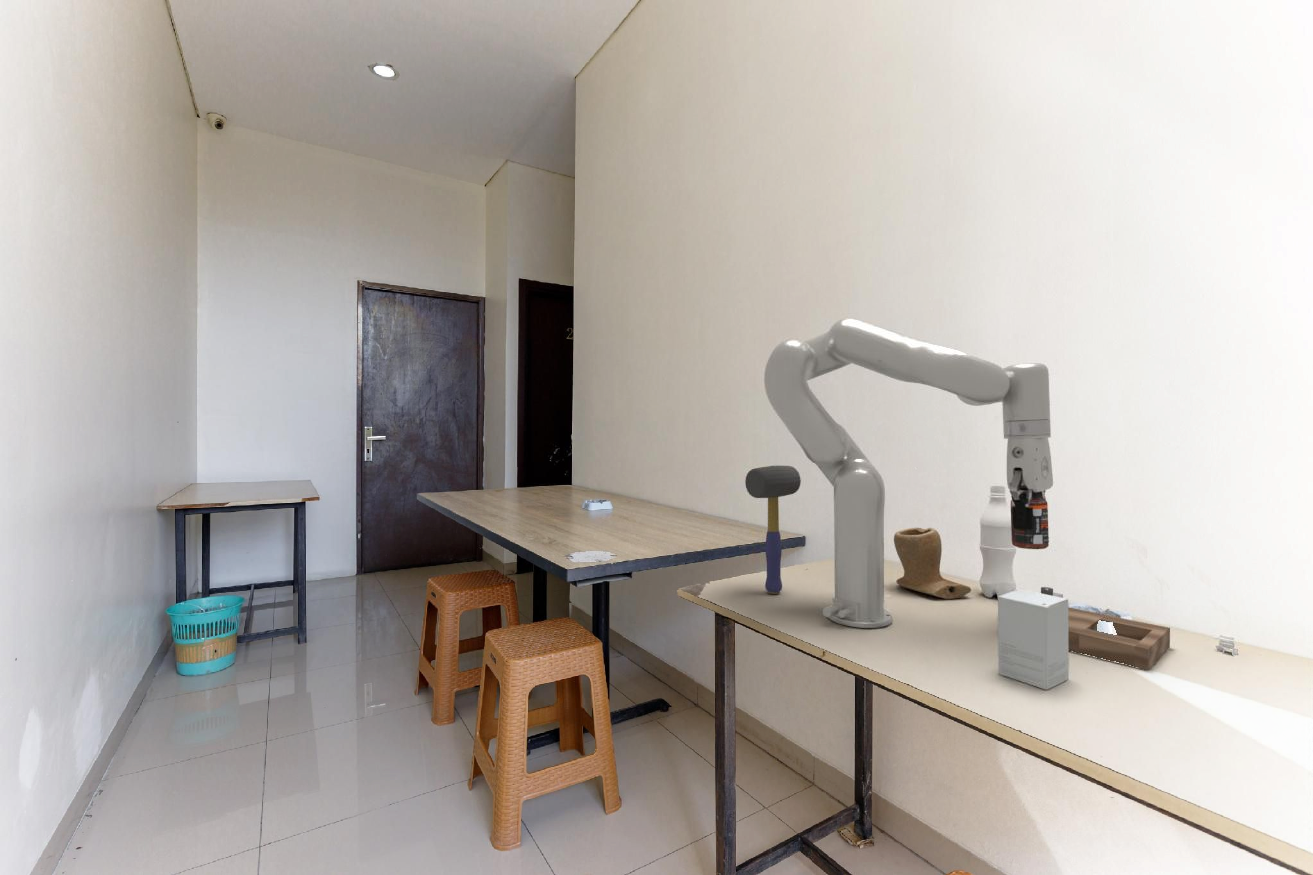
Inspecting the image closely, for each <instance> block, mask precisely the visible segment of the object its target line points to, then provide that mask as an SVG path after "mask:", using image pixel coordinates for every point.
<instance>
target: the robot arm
mask: <svg viewBox="0 0 1313 875" xmlns="http://www.w3.org/2000/svg"><path fill="white" fill-rule="evenodd" d="M850 364H853V365H855V366H857V367H858V366H859V367H861V368H864V369H867V370H869V371H872V372H875V373H877V374H880V375H884V376H886V377H889V378H891V379H894V380H897V381H901V382H906V383H910V384H911V383H913V384H922V385H925V386H930V387H933V388H936V389H939V390H941V391H946V392H947V393H951V394H954V395H956V397H957V398H958V399H959V400H960V401H961V402H963V403H964V404H966V405H969V406H975V407H977V406H980V407H981V406H988V405H993V404H996V403H1002V424H1003V425H1002V428H1003V429H1002V430H1003V439H1005V440H1007V446H1006V483H1007V488H1008V490H1009V493H1010V498H1011V500H1012V507H1013V527H1014V528H1017V529H1028V530H1031V529H1033V528H1034V527H1033V508H1030V506H1031V497H1032V490H1033V492H1041V496H1042V497H1043V499H1045V500H1046V501H1047V499H1046V492H1047V490H1049V489H1051V488H1052V487H1053V485H1054V480H1053V479H1054V478H1053V476H1054V475H1053V467H1052V464H1053V463H1052V454H1051V447H1050V442H1049V439H1050V438H1052V436H1051V433H1052V432H1051V408H1050V406H1051V404H1050V403H1051V401H1050V377H1049V376H1050V374H1049V369H1048V367H1047V366H1046V365H1045V364H1043V363H1039V362H1038V363H1036V362H1035V363H1032V362H1031V363H1020V364H1019V363H1017V364H1012V365H1008V366H1006V367H1003V368H1002V367H1001V366H999V365H998V364H996V363H994V362H991V361H989V360H986V359H984V358H980V357H978V356H974V355H971V354H968V353H965V352H963V351H959V350H956V349H953V348H949V347H945V346H941V345H937V344H934V343H930V342H927V341H923V340H920V339H917V338H915V337H914V338H913V337H911V336H907V335H904V334H902V333H898V332H896V331H893V330H890V329H887V328H884V327H881V326H878V325H875V324H872V323H870V322H867V321H864V320H860V319H856V318H853V317H844V318H840V319H839V320H837V321H836V322H834V323H833V325H832V326H831V327H830V329H829V330H828V331H826V332H824V333H822V334H820V335H817V336H815V337H812V338H810V339H807V340H805V341H802V340H800V339H798V338H797V339H796V338H790V339H785V340H783V341H782V342H780V343H779V344H777V346H775V348H773V350H772V351H771V353H770V355H769V357H768V359H767V362H766V364H765V370H764V373H763V374H764V377H763V380H764V389H765V393H766V396H767V399H768V402H769V403H770V405H771V407H772V409H773V410H774V411H775V413H776V414H777V416H778V417H779V419H780V420H781V421H782V423H783V424H784V425H785V427H786V428H787V430H788V431H789V433H790V434H791V436H792V437H793V439H795V441H796V442H797V444H798V445H799V446H800V448H801V450H802V451H803V452H804V454H805V456H806V458H807V459H808V460H810V461H811V462H812V463H813V464H815V465H816V467H818V469H819V470H820V471H821V473H822V474H823V475H824V476H825V478H826V479H827V481H828V482H829V483H830V484H831V486H832V487H833V518H834V519H833V520H834V522H833V525H834V526H833V527H834V528H833V532H834V533H833V538H834V540H833V541H834V597H832V603H831V605H829V606H826V607H825V606H824V607H823V609H822V614H823V616H824V617H825V618H828V619H829V620H831V621H832V622H834V623H837V624H839V625H843V626H847V627H851V628H862V629H876V628H877V629H878V628H883V627H886V626H887V627H888V626H889V625H890V624H891V623H892V622H893V615H892V613H891V612H890V611H888V610H886V609H885V608H884V606H885V593H884V592H885V569H884V568H885V545H884V544H885V543H884V538H885V537H884V536H885V534H884V531H885V523H884V522H885V501H886V490H885V489H886V488H885V483H884V479H883V477H882V475H881V473H879V471H878V470H877V469H876V467H875V466H874V465H873V464H872V462H871V461H870V460H869V459H868V457H867V456H866V455H865V454H864V452H863V451H862V449H861V448H860V447H859V445H858V444H857V443H856V442H855V441H854V439H853V438H852V437H851V435H850V434H849V433H848V432H847V430H846V429H845V428H844V427H843V426H842V425H841V424H839V423H837V421H836V420H835V419H834V418H833V417H832V416H831V414H830V413H829V412H828V411H827V409H826V408H825V407H824V406H823V404H822V403H821V402H820V400H819V399H818V398H817V396H816V395H815V393H814V392H813V391H812V390H811V388H810V385H809V383H808V381H810V380H813V379H815V378H818V377H820V376H823V375H825V374H826V375H827V374H828V373H832V372H834V371H837V370H839V369H841V368H844V367H846V366H849V365H850ZM1020 488H1028V490H1020ZM1024 495H1026V499H1025V496H1024Z"/></svg>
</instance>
